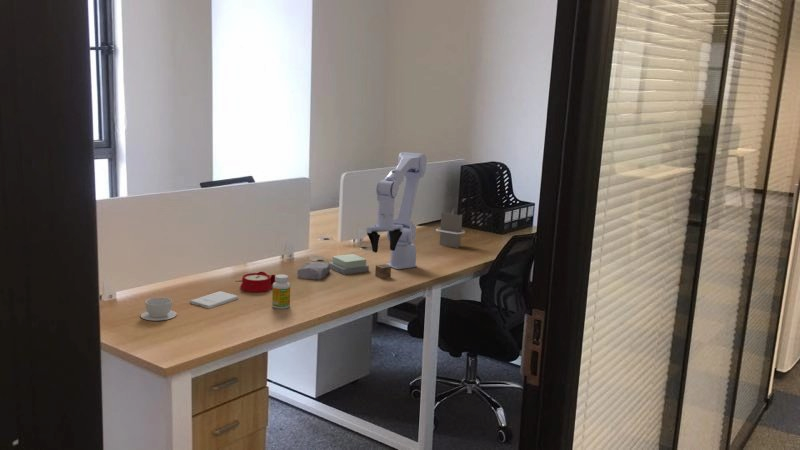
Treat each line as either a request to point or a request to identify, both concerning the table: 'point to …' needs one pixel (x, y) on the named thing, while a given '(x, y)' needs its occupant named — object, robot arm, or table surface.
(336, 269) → the grey base slab
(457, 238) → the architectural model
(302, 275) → the stone block
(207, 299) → the external hard drive
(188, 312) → the table surface
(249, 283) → the alarm clock
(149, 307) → the teacup
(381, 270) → the walnut cube
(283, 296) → the supplement bottle
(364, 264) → the green top slab
